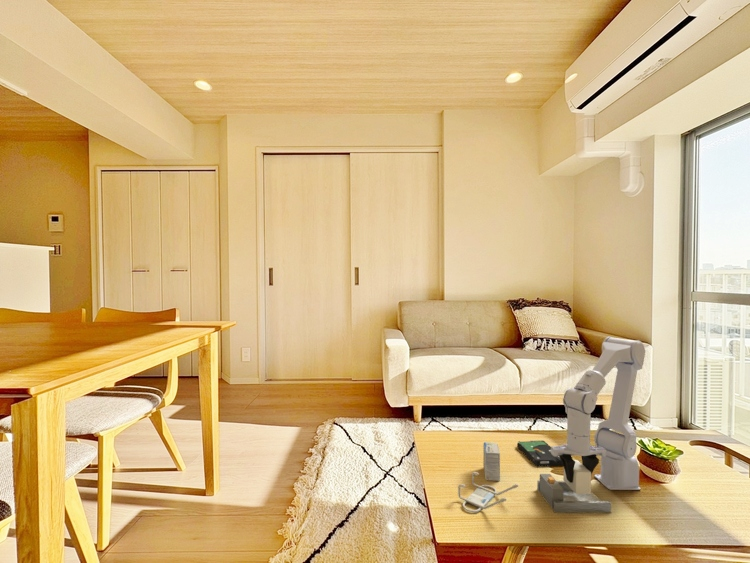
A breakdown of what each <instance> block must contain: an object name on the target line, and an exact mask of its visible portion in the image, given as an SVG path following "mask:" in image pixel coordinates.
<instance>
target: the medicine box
mask: <svg viewBox="0 0 750 563" xmlns="http://www.w3.org/2000/svg"><path fill="white" fill-rule="evenodd" d="M482 463H483V471H484V472H483V473H484V479H485V480H486V481H491V482H492V481H494V482H500V481H501V455H500V449H499V446H498V443H496V442H490V441H489V442H484V441H483V461H482Z"/></svg>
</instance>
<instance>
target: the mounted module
mask: <svg viewBox="0 0 750 563" xmlns="http://www.w3.org/2000/svg"><path fill="white" fill-rule="evenodd" d="M539 481H540V492H541V493H542V495H543V496H544V497H545V499H546V500H547V501H548V503H549V504H550V505H551V506H552V507H554V501H563V497H564V489H563V488H562V487H561V486H560V485H559V483H558V482H557V481H558V480H556V479H555V477H554V476H552V475H551V474H550V473H539ZM540 492H539V493H540ZM542 495H541V496H542ZM543 496H542V497H543ZM544 497H543V498H544ZM545 499H544V500H545ZM546 500H545V501H546ZM547 501H546V502H547ZM548 503H547V504H548ZM549 504H548V505H549ZM550 505H549V506H550Z"/></svg>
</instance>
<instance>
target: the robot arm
mask: <svg viewBox="0 0 750 563" xmlns="http://www.w3.org/2000/svg"><path fill="white" fill-rule="evenodd" d="M645 356H646V349H645V346H644V344H643V342H642V341H641V340H633V339H626V338H621V337H620V338H618V337H613V336H607V337H605V338H604V340H603V341H602V344H601V355H600V356H599V358H598V360H597V362H596V363H595V365H594V366H593V368H592V369H591V370H585V372H584V374H582V376H581V377H580V378H579V380H578V382H577V383H576V384H575V385H574V387H571V388H568V389H566V391H565V393H564V394H563V398H562V403H563V405H564V408H565V414H567V416H566V417H567V422H566V423H567V425H566V427H567V428H566V432H567V433H566V435H567V436H566V444H561V445H555V446H550V447H551V454H552V455H553V456H558V455H559V457H560V459H561V461H562V463H563V470H564V469H565V473H566V478H567V480H568V481H569V482H570V483H573V470H574V465H575V461H574V460H575V459H573V456H579V457H580V456H581V464H582V465H584V466H585V467H586V468H587V469H588V470H589V471H590V472H591V476H592V475H593V472H594V470H595V468H596V467H597V466H598V465H599V463H600V474H594V478H595V479H597V480H598V481H599V482H600V483H601V484H602V485H603V486H605V488H606V489H608V490H609V491H613V490H615V491H632V490H633V491H639V490H641V487H640V486H639V485H640V484H639V482H640V466H639V462H638V460H637V458H636V457H635V455H636V452H637V448H638V447H637V433H636V432H635V431H634V430H633V428H632V427H630V425H629V417H630V413H631V406H632V402H633V397H634V392H635V385H636V380H637V374H638V371H639V370H642V369H643V366H644V363H645V362H644V361H645ZM615 367H616V369H617V372H616V377H615V382H614V387H613V388H614V389H613V392H612V397H611V404H610V409H609V413H608V418H607V419H605V420H603V421H600V422H599V423H598V427H597V428H596V431H595V433H594V436H593V441H594V444H595V445H591V415H592V414H591V413H593V412H594V410H595V408H596V405H597V401H598V395H599V394H600V393H601V391H602V390H603V388H604V387H605V385H606V384H607V381H606V379H605V377H607V375H608V374H609V373H610V372H611V371H612V370H613V369H614V368H615ZM597 456H600V459H599V458H598V457H597Z"/></svg>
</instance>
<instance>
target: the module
mask: <svg viewBox="0 0 750 563" xmlns="http://www.w3.org/2000/svg"><path fill="white" fill-rule="evenodd" d="M573 460H574V461H575V465H574V470H573V483H570V482H569V481H568V480H567V478H566V473H565V469H564V468H563V478H562V479H563V480H562V481H565V483H566V484H567V485H568V486H569V487H570V488H571V489H572V490H573V491H574V492H575V493H576V494H591V492H592V488H591V487H592V484H591V482H592V475H591V472H590V471H589V470H588V469H587V468H586V467H585V466H584V465H582V462H580V461H579V460H578V459H573Z"/></svg>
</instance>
